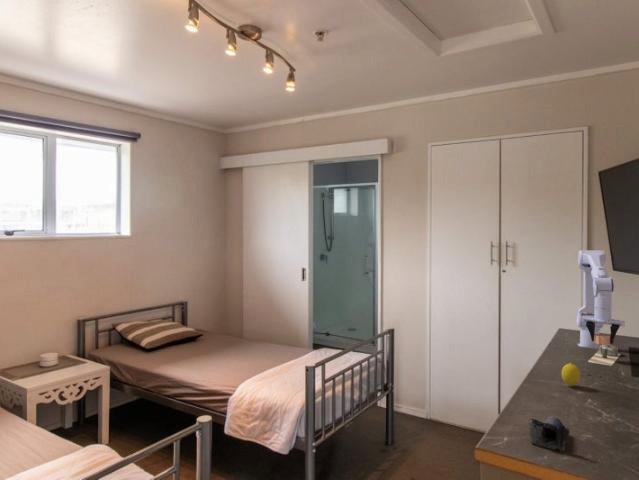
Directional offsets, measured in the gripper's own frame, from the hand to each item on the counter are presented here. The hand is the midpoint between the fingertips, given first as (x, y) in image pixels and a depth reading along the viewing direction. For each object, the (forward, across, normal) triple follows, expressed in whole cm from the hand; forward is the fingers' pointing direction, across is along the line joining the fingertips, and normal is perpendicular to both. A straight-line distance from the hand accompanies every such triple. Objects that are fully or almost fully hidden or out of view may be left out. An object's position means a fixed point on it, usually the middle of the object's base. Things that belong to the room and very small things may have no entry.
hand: (602, 342), depth 180 cm
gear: (0, 0, 0) cm, 0 cm away
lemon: (+9, -3, -36) cm, 37 cm away
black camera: (+9, +3, -83) cm, 83 cm away
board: (+9, 0, +5) cm, 10 cm away
